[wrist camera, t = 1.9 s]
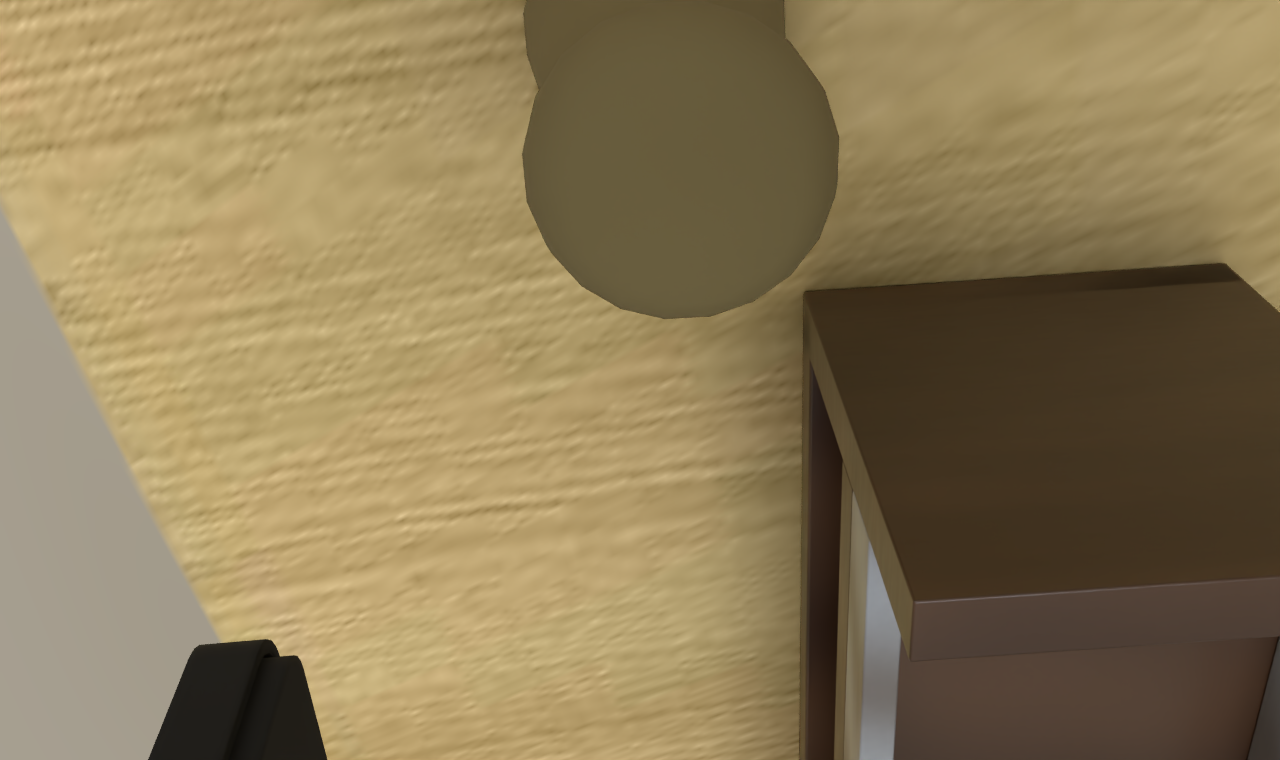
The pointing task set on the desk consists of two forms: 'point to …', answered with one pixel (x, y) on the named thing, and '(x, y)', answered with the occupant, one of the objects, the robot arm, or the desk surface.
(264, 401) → the desk surface
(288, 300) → the desk surface
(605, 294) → the olive brown waisted cylinder
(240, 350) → the desk surface
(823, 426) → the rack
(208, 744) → the robot arm
